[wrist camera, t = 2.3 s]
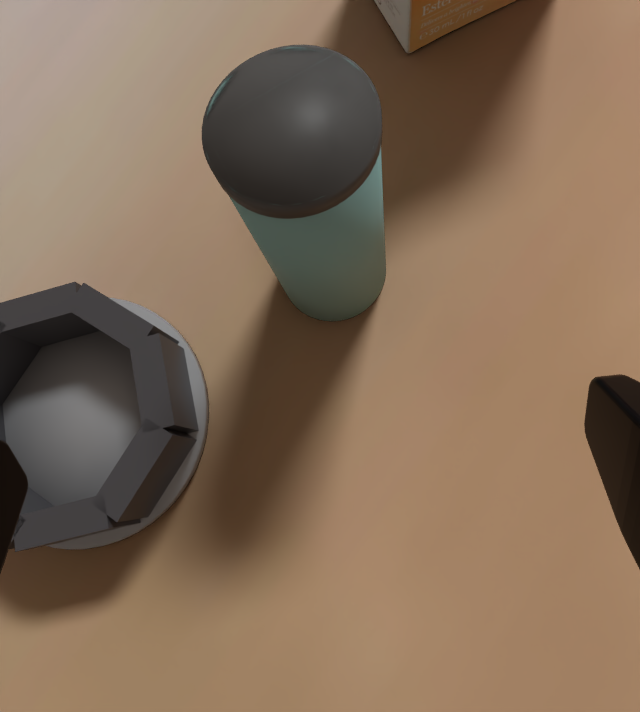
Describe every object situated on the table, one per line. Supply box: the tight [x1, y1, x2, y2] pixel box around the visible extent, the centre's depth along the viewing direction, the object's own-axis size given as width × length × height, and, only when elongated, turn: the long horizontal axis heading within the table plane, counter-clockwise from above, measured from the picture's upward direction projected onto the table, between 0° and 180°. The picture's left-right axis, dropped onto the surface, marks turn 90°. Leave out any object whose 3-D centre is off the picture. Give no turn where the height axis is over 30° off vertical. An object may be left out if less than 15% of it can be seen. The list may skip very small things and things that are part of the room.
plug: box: [202, 45, 386, 321], centre depth 18 cm, size 4×4×10 cm
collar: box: [0, 282, 209, 552], centre depth 22 cm, size 10×10×3 cm
